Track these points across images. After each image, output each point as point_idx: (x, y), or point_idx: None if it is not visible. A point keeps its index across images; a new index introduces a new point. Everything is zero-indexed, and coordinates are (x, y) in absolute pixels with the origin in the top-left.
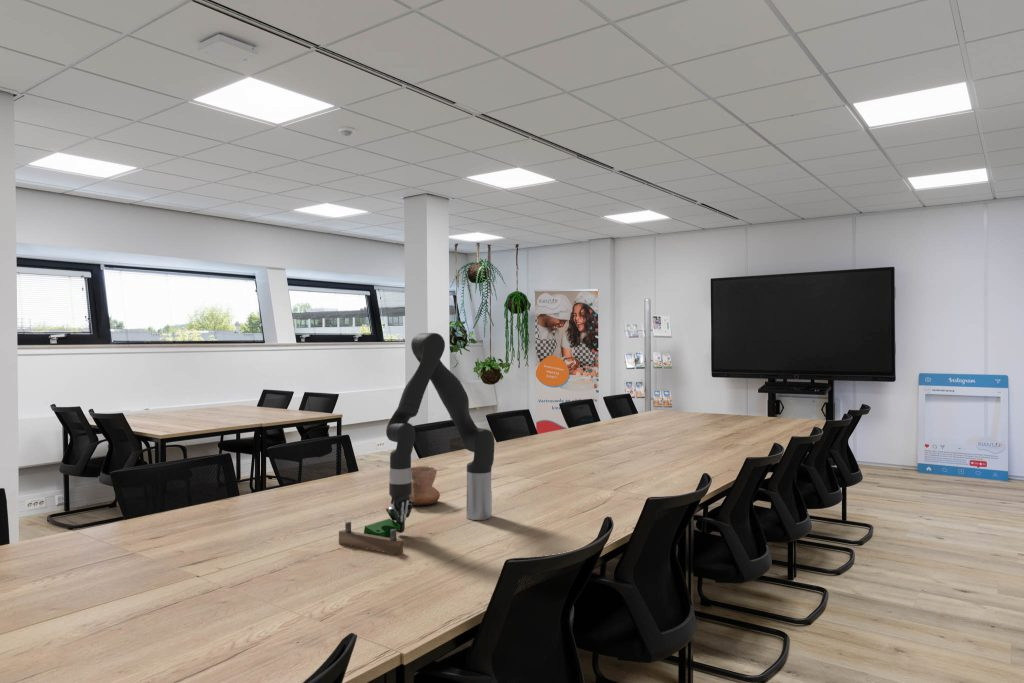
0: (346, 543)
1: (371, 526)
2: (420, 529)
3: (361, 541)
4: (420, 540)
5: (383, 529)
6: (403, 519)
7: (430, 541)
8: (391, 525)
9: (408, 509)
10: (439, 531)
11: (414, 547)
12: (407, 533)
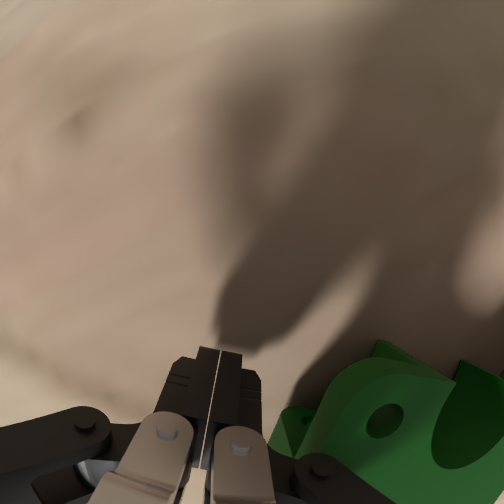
0: None
1: (488, 490)
2: (27, 258)
3: None
4: (318, 110)
5: (431, 450)
6: (194, 436)
7: (316, 19)
8: (422, 441)
9: (23, 478)
10: (29, 87)
11: (487, 111)
12: (150, 319)
